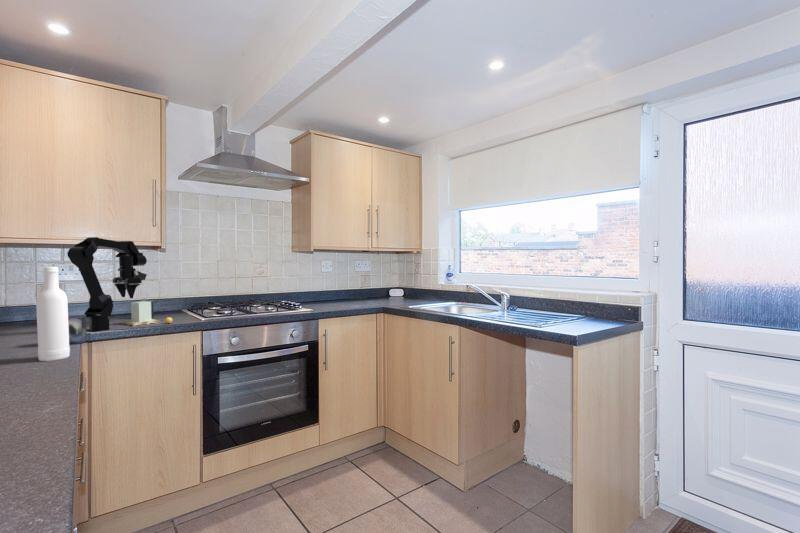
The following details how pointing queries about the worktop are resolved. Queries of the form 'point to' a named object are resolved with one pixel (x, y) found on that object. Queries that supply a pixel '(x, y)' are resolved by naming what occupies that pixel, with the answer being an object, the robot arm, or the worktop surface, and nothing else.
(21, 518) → the worktop surface
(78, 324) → the small box
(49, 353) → the bottle
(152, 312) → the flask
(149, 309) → the pale green block
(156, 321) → the trivet
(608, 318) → the worktop surface
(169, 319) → the marble
